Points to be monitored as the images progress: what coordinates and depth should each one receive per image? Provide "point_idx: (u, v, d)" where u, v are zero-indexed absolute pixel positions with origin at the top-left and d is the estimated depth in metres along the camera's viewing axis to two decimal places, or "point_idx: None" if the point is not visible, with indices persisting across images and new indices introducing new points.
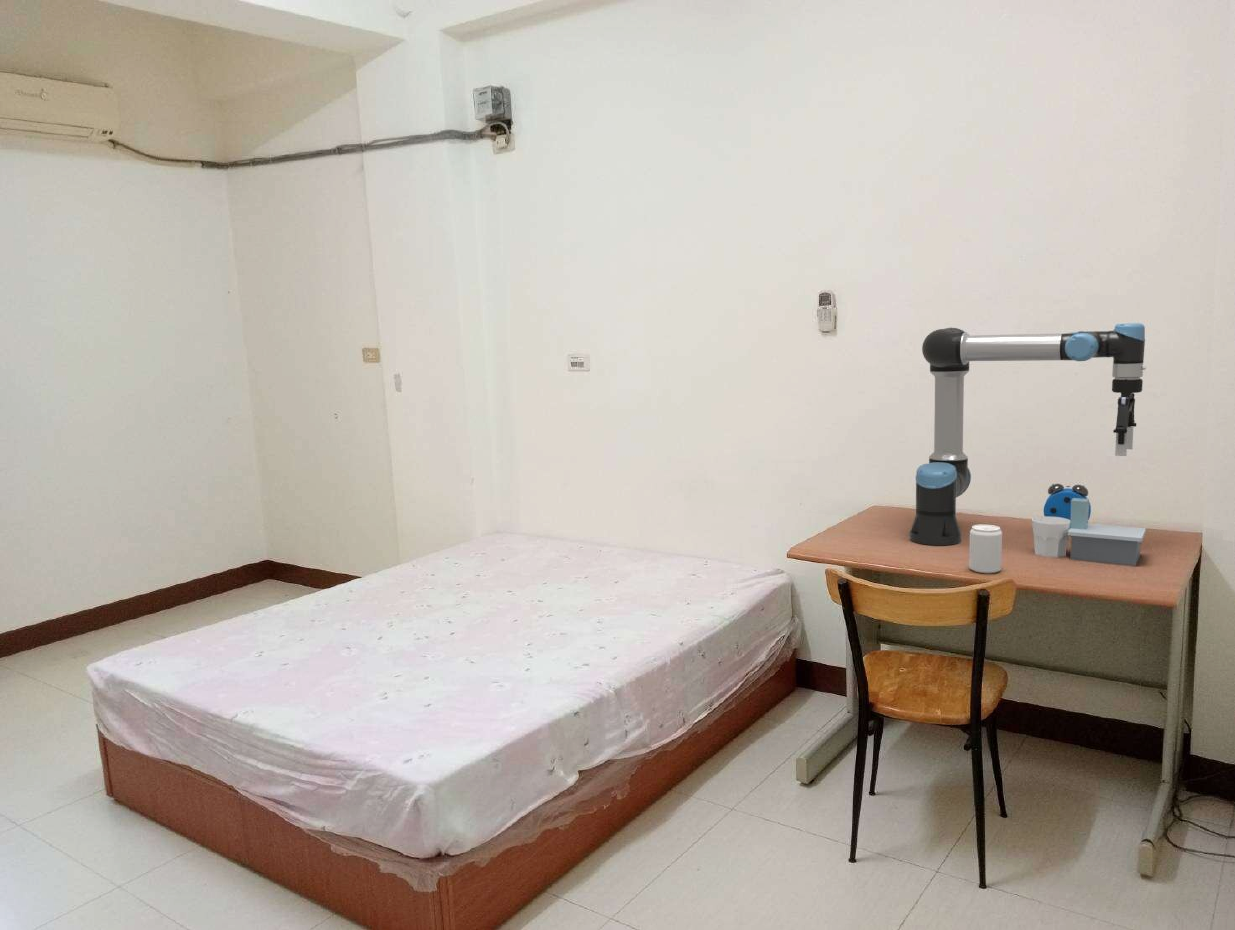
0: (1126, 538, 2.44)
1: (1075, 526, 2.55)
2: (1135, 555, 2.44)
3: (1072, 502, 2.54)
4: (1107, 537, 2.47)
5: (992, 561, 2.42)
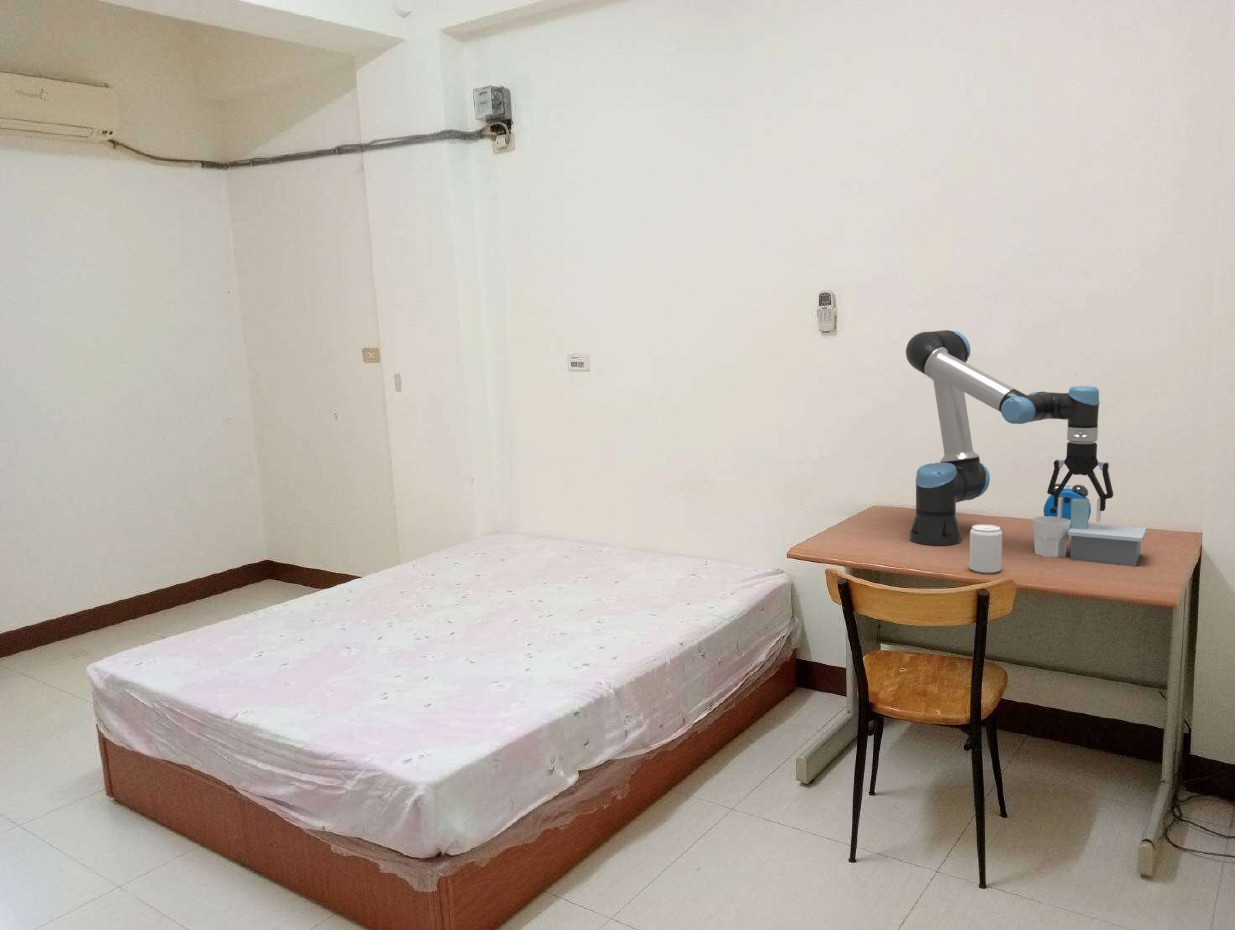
0: (1126, 538, 2.44)
1: (1075, 526, 2.55)
2: (1135, 555, 2.44)
3: (1072, 502, 2.54)
4: (1107, 537, 2.47)
5: (992, 561, 2.42)
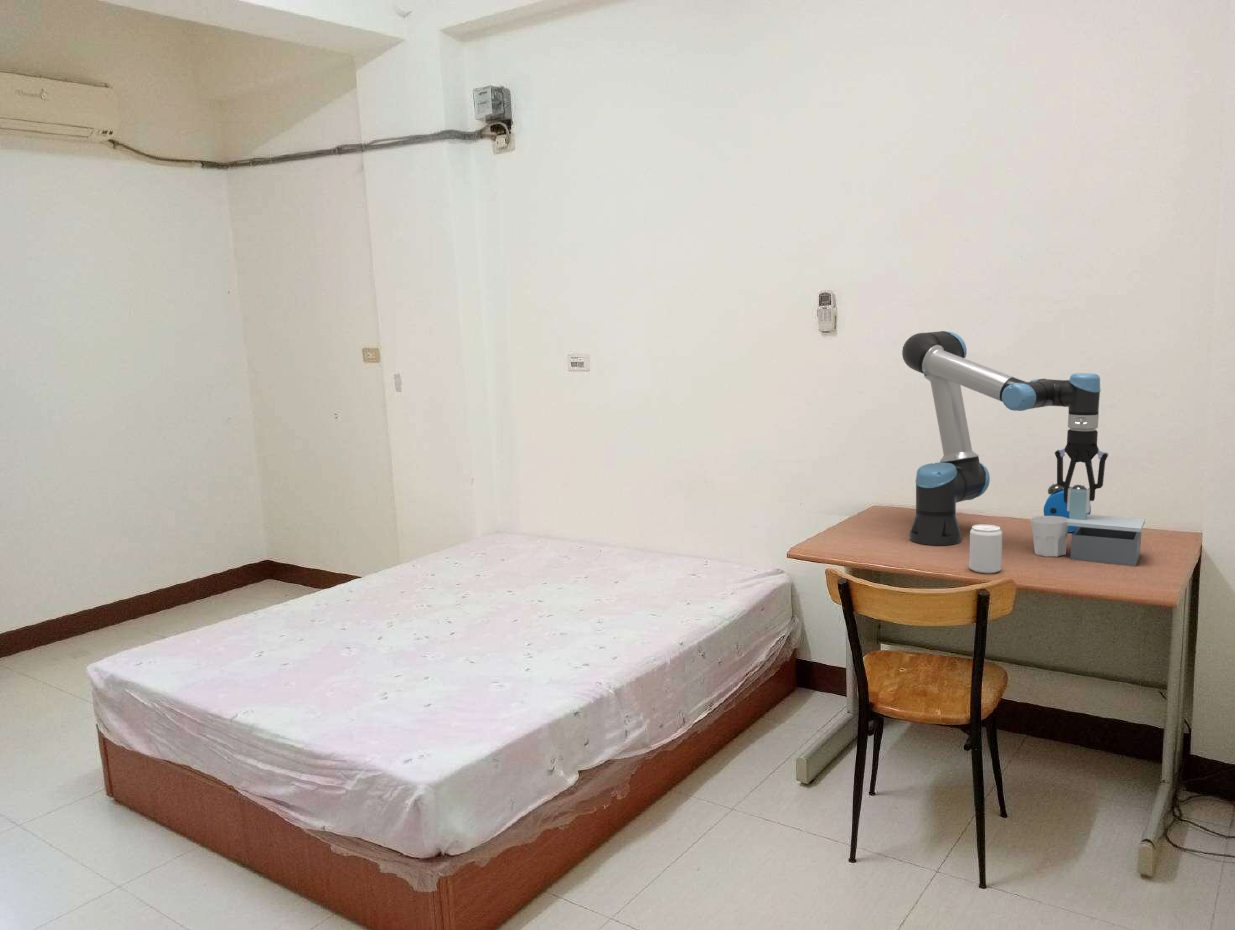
0: (1125, 528, 2.44)
1: (1074, 516, 2.55)
2: (1135, 555, 2.44)
3: (1071, 492, 2.54)
4: (1106, 527, 2.47)
5: (992, 561, 2.42)
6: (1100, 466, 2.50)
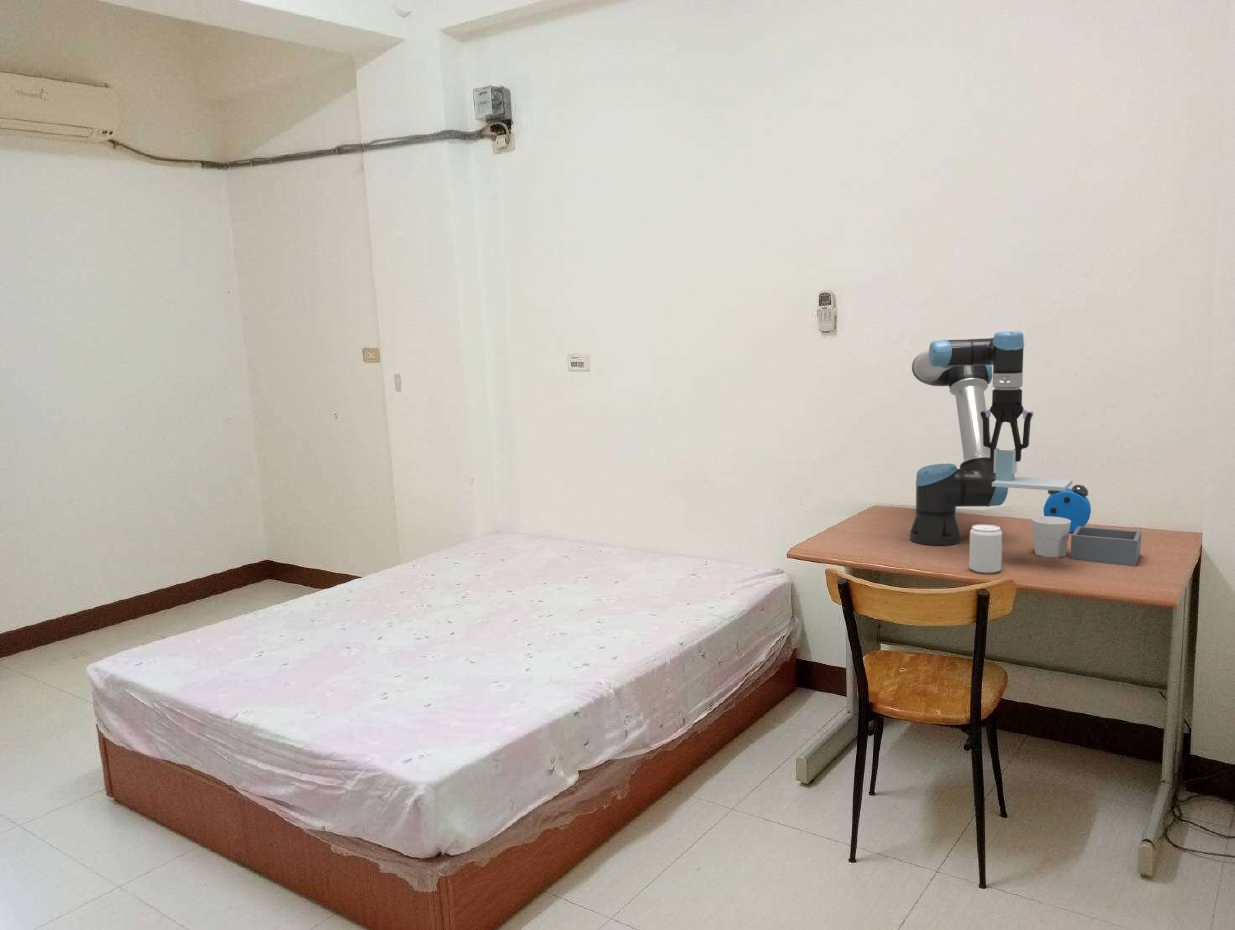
0: (1049, 488, 2.39)
1: (1000, 478, 2.50)
2: (1135, 555, 2.44)
3: (997, 453, 2.50)
4: (1030, 487, 2.42)
5: (992, 561, 2.42)
6: (1025, 425, 2.45)
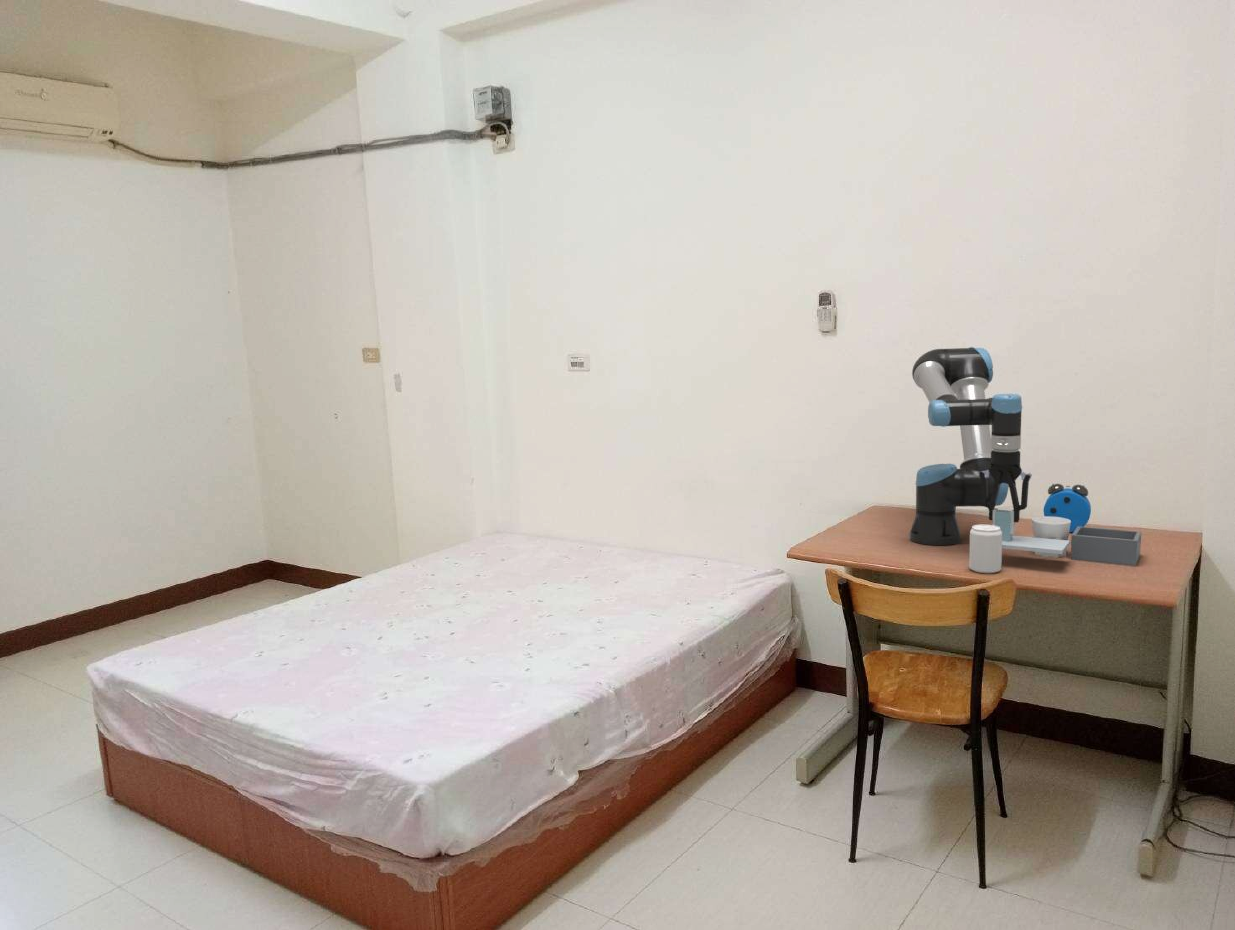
0: (1047, 550, 2.42)
1: None
2: (1135, 555, 2.44)
3: (996, 514, 2.52)
4: (1029, 549, 2.44)
5: (992, 561, 2.42)
6: (1023, 487, 2.48)
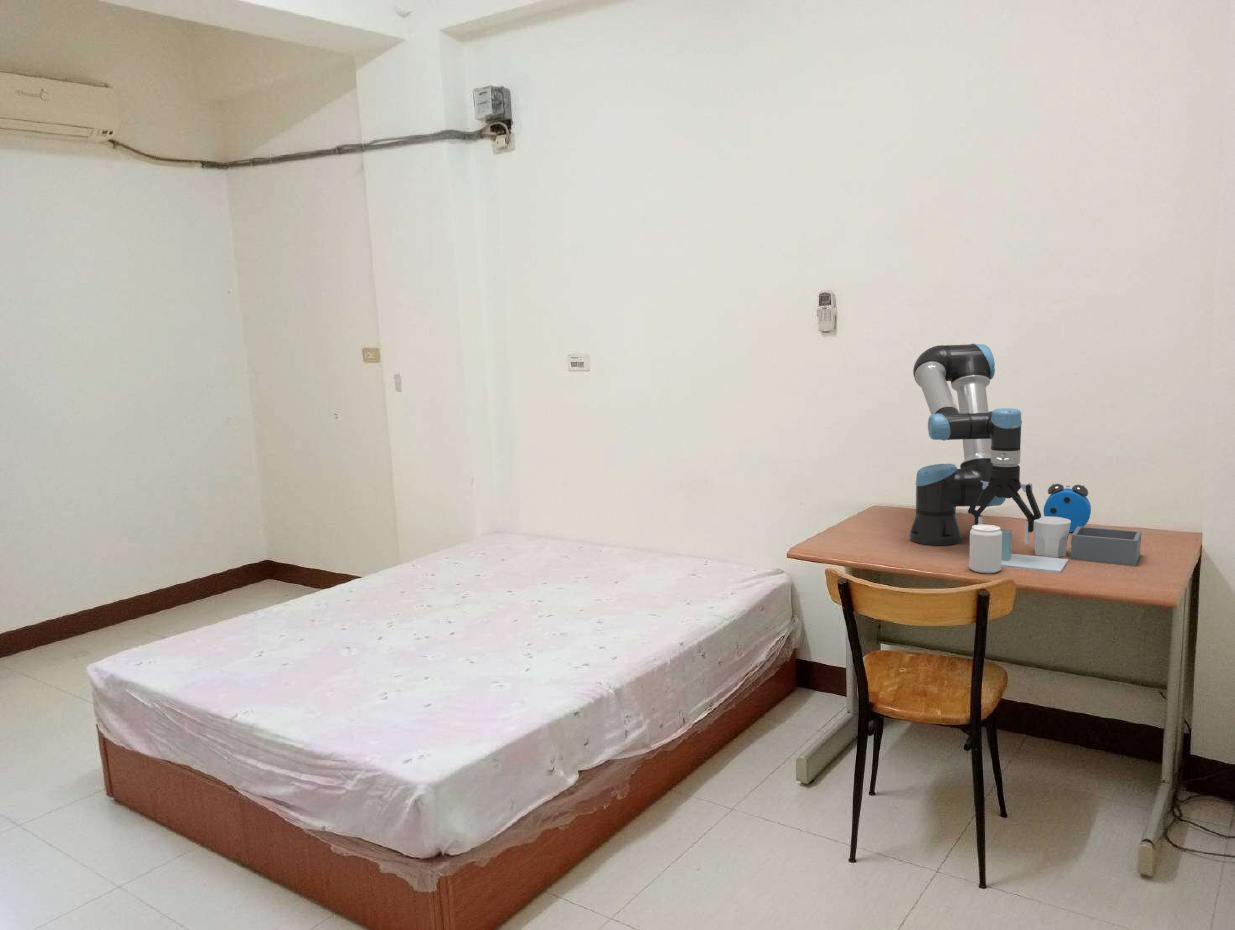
0: (1045, 571, 2.43)
1: None
2: (1135, 555, 2.44)
3: None
4: (1027, 569, 2.45)
5: (992, 561, 2.42)
6: (1029, 498, 2.47)
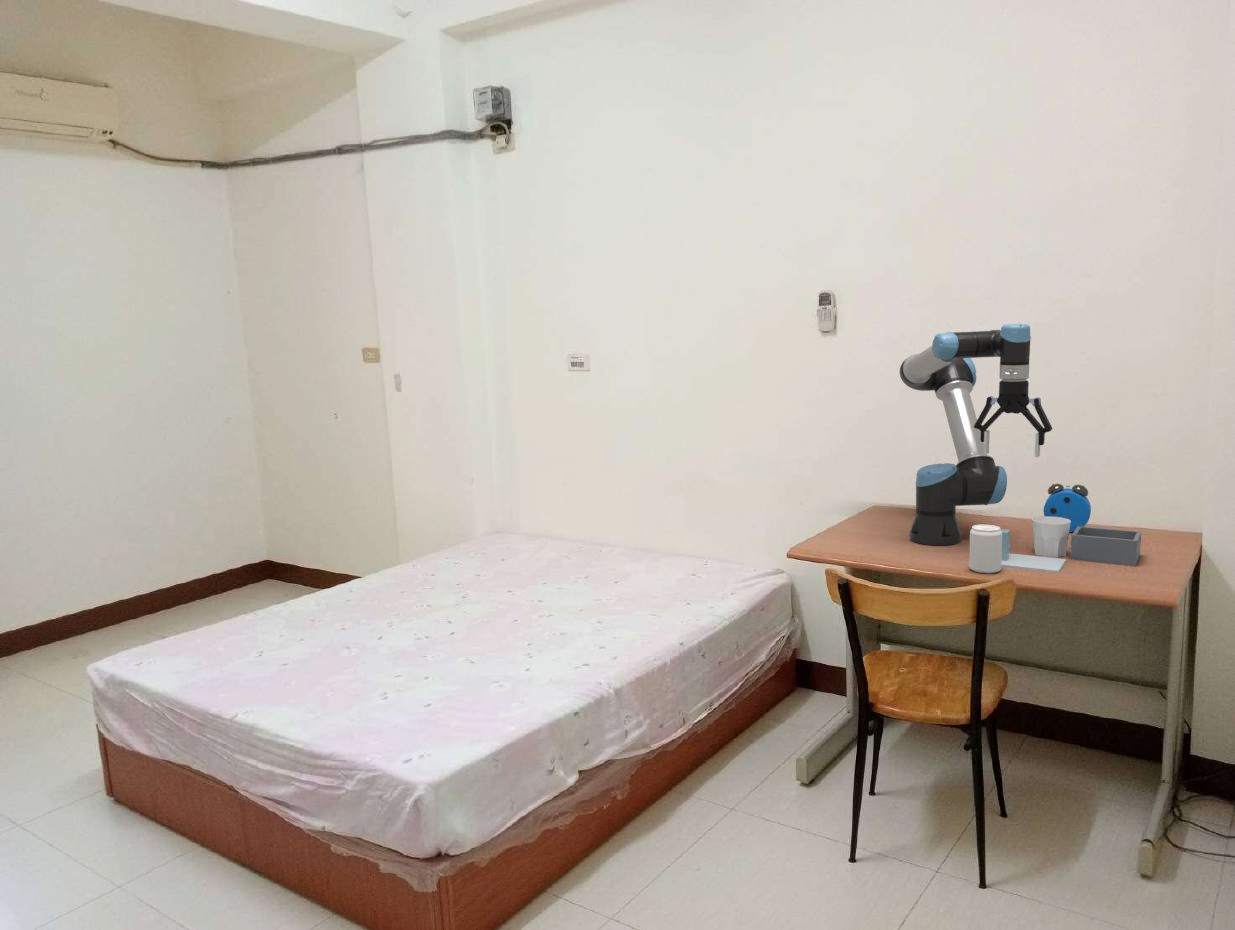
0: (1043, 570, 2.43)
1: None
2: (1135, 555, 2.44)
3: None
4: None
5: (992, 561, 2.42)
6: (1038, 411, 2.48)
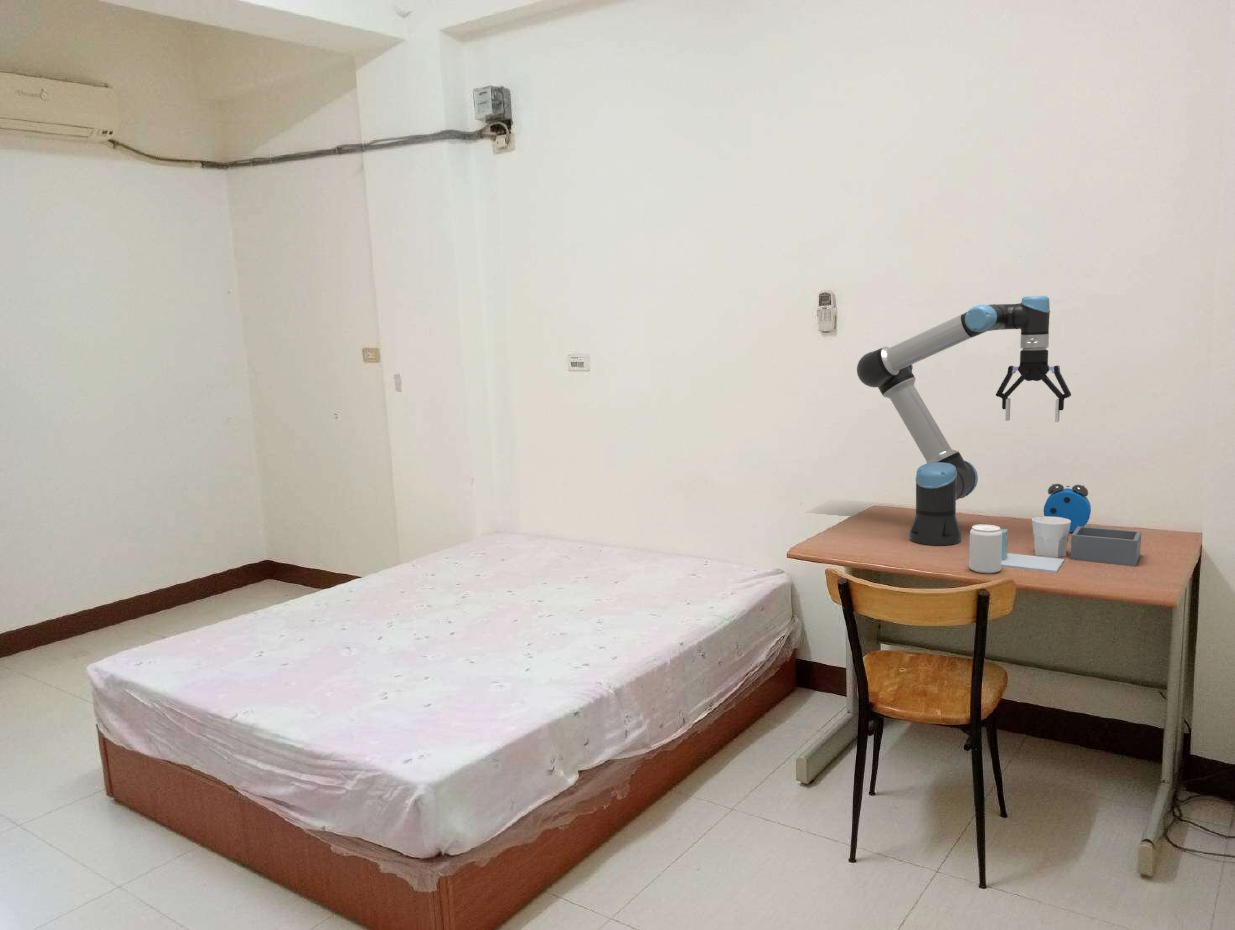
0: (1041, 570, 2.43)
1: None
2: (1135, 555, 2.44)
3: None
4: None
5: (992, 561, 2.42)
6: (1058, 378, 2.62)
